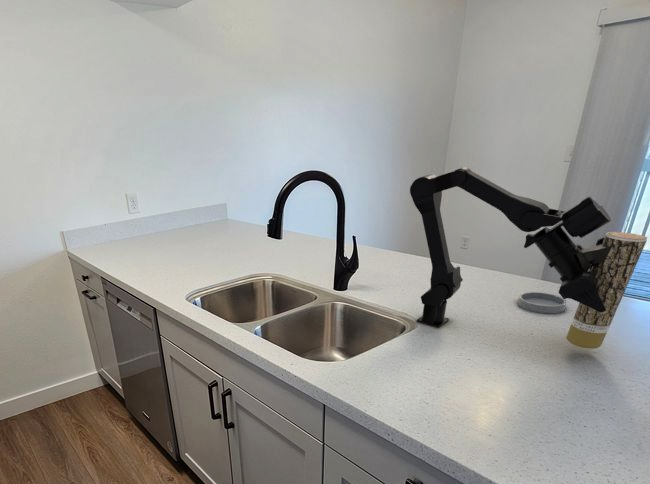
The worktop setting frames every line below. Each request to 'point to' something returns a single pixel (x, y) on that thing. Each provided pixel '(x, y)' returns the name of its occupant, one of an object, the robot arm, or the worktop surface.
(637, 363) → the worktop surface
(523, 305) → the stand
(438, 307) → the robot arm
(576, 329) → the paper tube
